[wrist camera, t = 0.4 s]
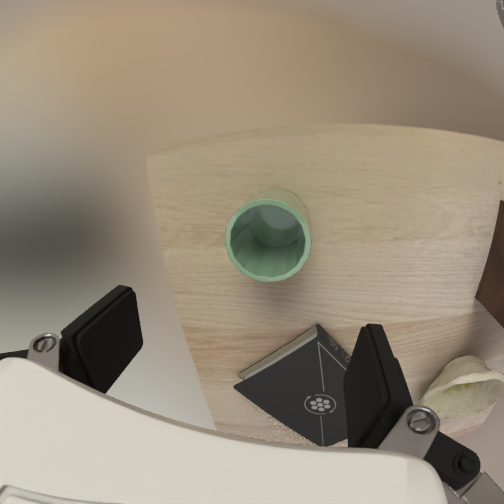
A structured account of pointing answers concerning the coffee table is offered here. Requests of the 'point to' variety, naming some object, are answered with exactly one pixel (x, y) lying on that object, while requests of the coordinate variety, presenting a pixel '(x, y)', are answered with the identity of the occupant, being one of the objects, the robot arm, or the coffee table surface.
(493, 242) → the chest
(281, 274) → the green cup
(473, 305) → the coffee table surface
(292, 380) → the book
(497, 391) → the bowl
